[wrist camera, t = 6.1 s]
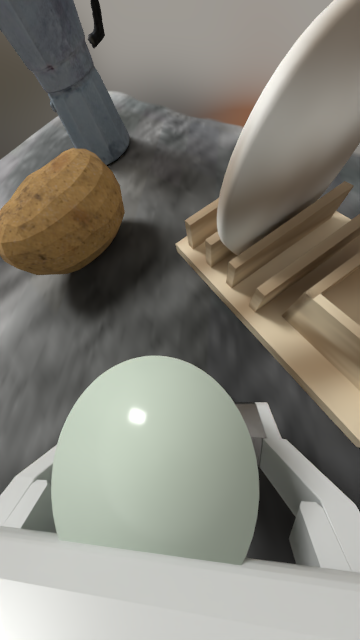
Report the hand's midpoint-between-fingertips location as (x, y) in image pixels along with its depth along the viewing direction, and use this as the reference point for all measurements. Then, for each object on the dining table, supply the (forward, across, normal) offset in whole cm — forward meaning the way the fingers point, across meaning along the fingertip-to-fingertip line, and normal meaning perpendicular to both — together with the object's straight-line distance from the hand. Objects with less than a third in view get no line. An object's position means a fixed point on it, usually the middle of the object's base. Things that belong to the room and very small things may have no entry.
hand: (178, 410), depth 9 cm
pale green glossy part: (+4, 0, +5) cm, 6 cm away
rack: (+12, -11, -3) cm, 16 cm away
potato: (+17, +12, -8) cm, 23 cm away
